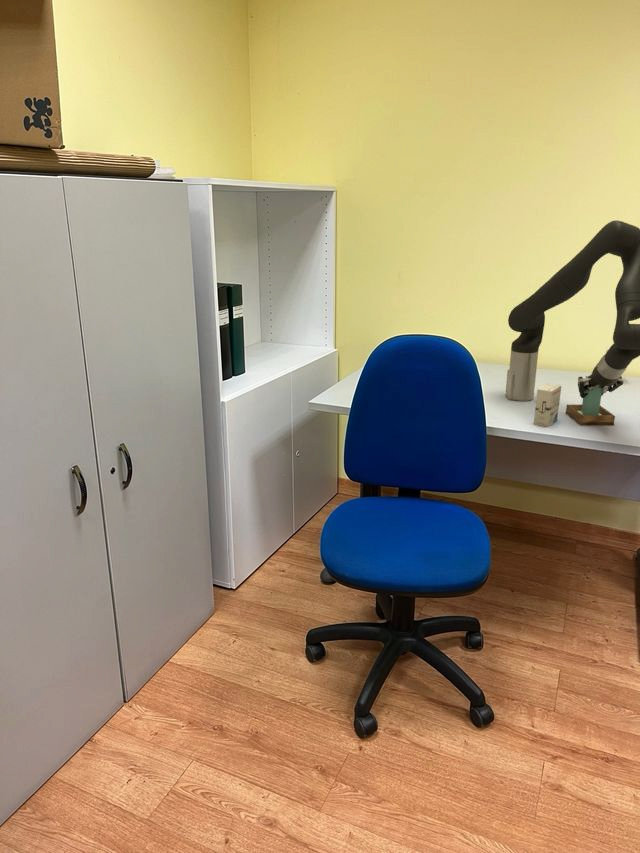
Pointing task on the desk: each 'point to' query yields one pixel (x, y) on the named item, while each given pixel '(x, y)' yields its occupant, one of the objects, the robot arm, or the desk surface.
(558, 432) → the desk surface
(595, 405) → the teal block
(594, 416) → the tray
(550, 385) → the ink box
